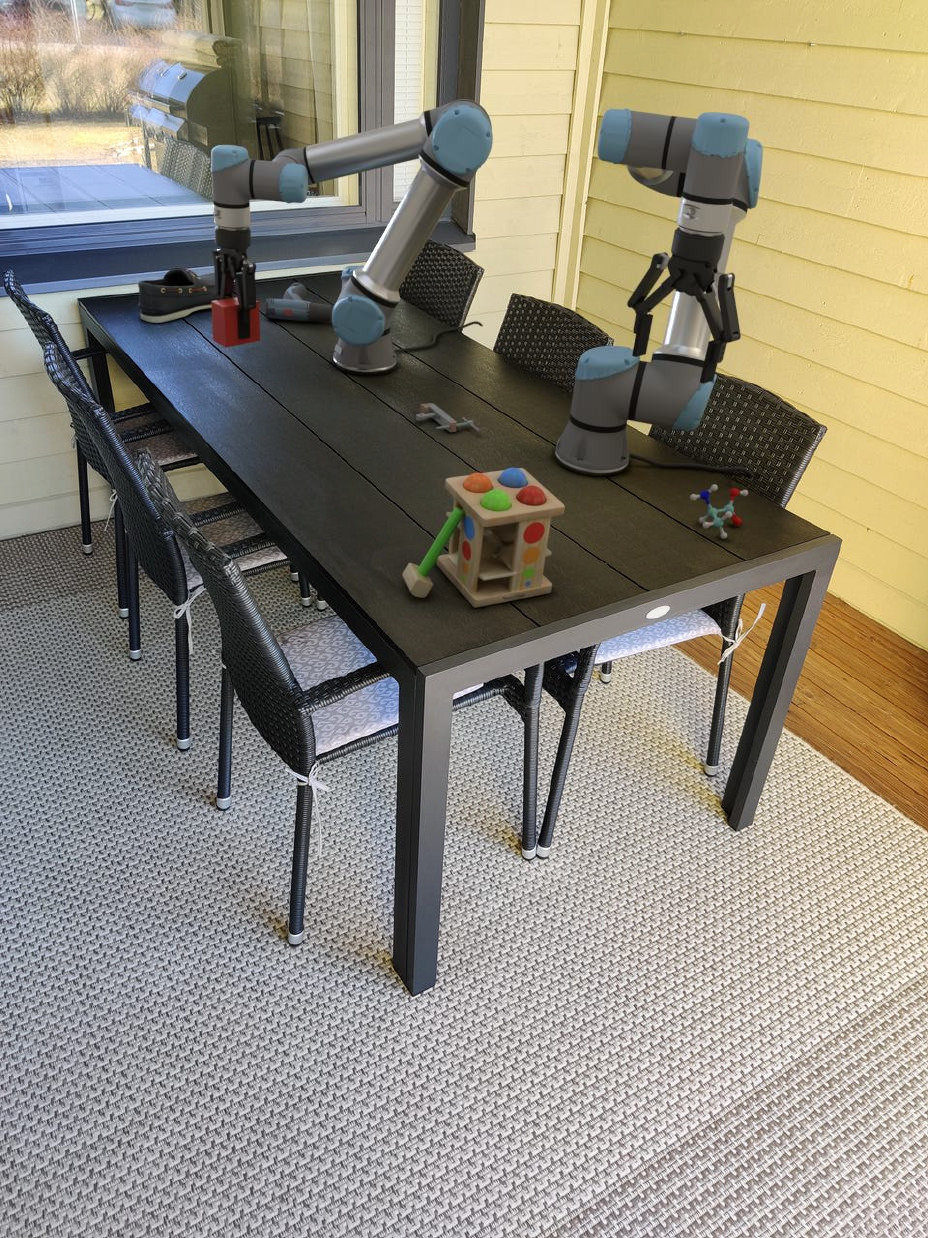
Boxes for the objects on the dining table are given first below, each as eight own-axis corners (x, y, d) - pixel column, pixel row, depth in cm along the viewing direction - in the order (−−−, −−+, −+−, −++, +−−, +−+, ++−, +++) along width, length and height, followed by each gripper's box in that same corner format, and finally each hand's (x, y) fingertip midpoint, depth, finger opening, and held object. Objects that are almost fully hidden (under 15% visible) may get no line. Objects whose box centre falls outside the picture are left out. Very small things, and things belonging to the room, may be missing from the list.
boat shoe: (248, 301, 272) (246, 262, 267) (158, 325, 248) (153, 283, 243) (214, 293, 278) (211, 255, 272) (123, 315, 254) (117, 274, 248)
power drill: (344, 304, 276) (335, 327, 259) (277, 298, 275) (264, 321, 258) (344, 285, 273) (335, 306, 256) (277, 279, 272) (264, 300, 255)
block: (213, 340, 221) (211, 301, 216) (247, 334, 226) (246, 295, 221) (225, 347, 218) (223, 307, 213) (260, 340, 223) (259, 301, 218)
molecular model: (753, 532, 175) (738, 478, 173) (701, 547, 178) (685, 494, 177) (757, 522, 185) (742, 472, 184) (707, 537, 189) (692, 487, 187)
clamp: (408, 405, 213) (448, 399, 218) (407, 414, 215) (447, 409, 219) (441, 432, 203) (482, 426, 207) (440, 442, 204) (481, 435, 209)
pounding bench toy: (424, 619, 150) (431, 515, 140) (388, 572, 160) (393, 472, 150) (553, 592, 159) (568, 494, 149) (511, 550, 169) (523, 455, 159)
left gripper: (193, 218, 211) (200, 325, 224) (241, 238, 201) (245, 349, 214) (224, 215, 216) (229, 320, 229) (271, 234, 205) (274, 343, 218)
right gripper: (620, 213, 151) (598, 348, 163) (757, 253, 137) (722, 397, 148) (650, 209, 155) (626, 340, 167) (786, 247, 141) (750, 388, 153)
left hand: (237, 333), depth 221 cm, fingers closed on block, 5 cm apart
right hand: (671, 368), depth 158 cm, fingers open, 13 cm apart
